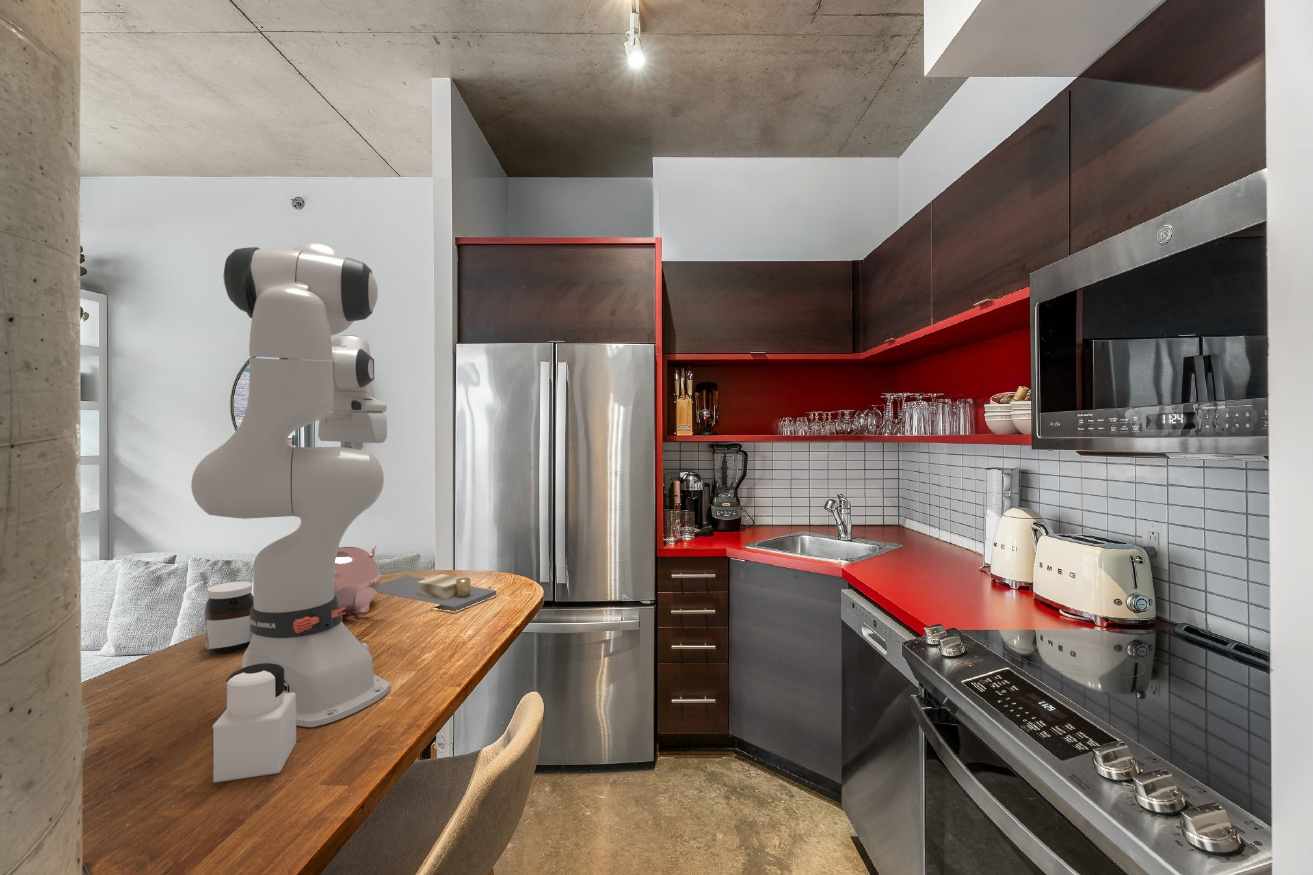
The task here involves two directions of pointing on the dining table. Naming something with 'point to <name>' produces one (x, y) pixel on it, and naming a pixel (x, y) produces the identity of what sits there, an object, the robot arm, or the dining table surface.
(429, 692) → the dining table surface
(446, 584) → the beige flat block
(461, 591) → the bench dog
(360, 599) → the piggy bank
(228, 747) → the medicine bottle
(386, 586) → the board
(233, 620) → the spread jar
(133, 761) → the dining table surface
